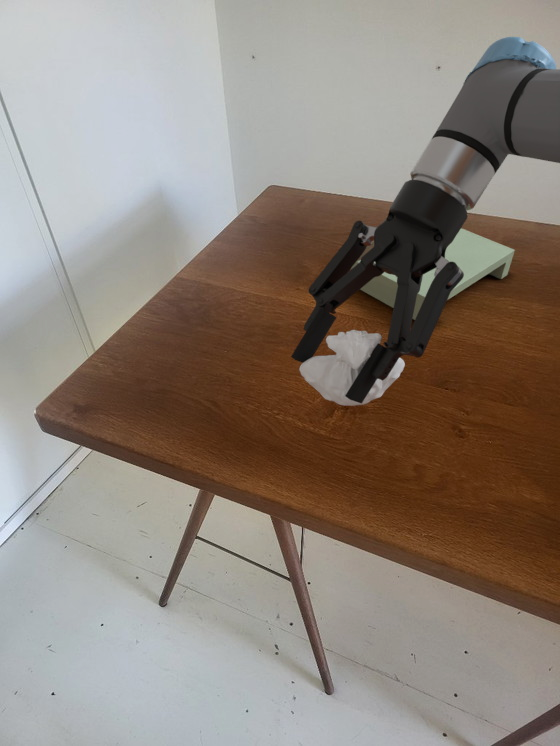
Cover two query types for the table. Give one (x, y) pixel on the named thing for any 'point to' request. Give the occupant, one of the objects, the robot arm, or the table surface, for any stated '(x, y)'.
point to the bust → (346, 367)
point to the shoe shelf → (465, 251)
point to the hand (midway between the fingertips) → (325, 379)
